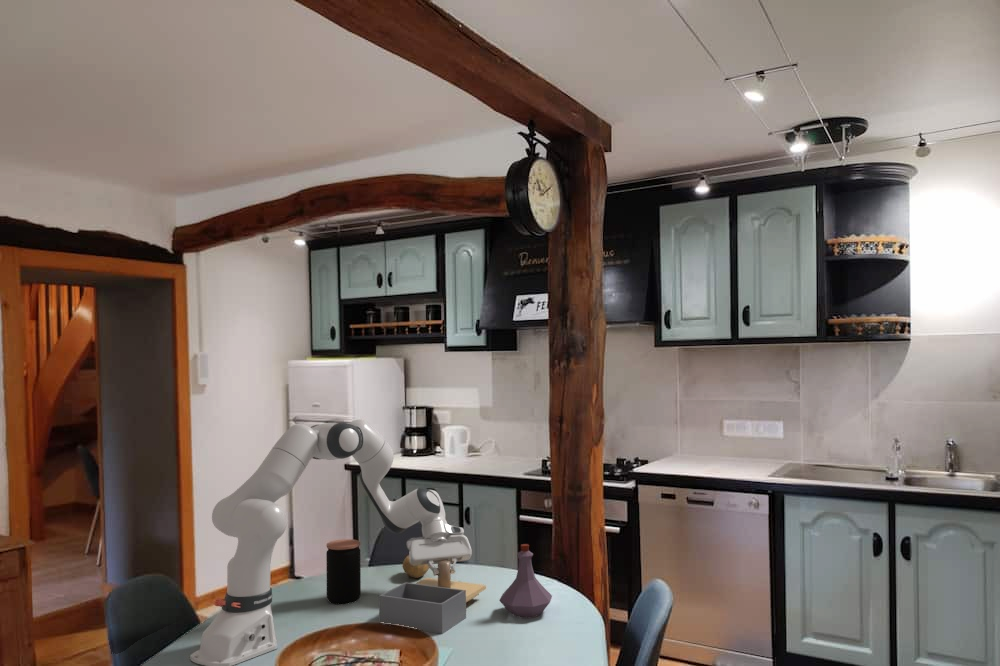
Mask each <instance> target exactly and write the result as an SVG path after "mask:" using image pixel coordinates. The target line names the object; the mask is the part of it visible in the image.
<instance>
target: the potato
mask: <svg viewBox="0 0 1000 666" xmlns="http://www.w3.org/2000/svg"><path fill="white" fill-rule="evenodd" d="M402 569H403V572H404V573H405V574H407V575H408V576H409V577H411V578H415V579H419V578H420V577H423V576H424V575H426V574H427V573H428V571H429V569H430V568H429V567H428V564H427V565H417V566H413V565H411V564H410V559H409V554H407V556H406V557H405V558H404V559H403V561H402Z"/></svg>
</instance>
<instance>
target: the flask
mask: <svg viewBox="0 0 1000 666" xmlns="http://www.w3.org/2000/svg"><path fill="white" fill-rule="evenodd" d="M529 547H530V544H529V543H523V544H520V549H521V550H520V551H519V552H518V553H517V554H516V555H517V559H518V569H517V572H516V577H515V579H514V580H513V581H512V583H511V585H509V586H508V588H506V589H505V591H504V592H503V593H502V595H501V597H500V598H499V602H500V603H501V604H502V606H503V607H504V608H505V609H506V610H507V611H508V612H509V614H511V615H512V616H515V617H517V618H535V617H539V616H540V615H541V614H543V612H544V611H545V609H546V608H547V607H548V605H549V604H551V601H552V597H553V594H551V593H550V592H549V591H548V590H547V589H546V588H545V587H544V585H543V584H541V583H540V581H539V580H538V579H537V578H536V575H535V572H534V568H533V564H532V558H533V556H534V553H533V552H531V551H530V549H529Z"/></svg>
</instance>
